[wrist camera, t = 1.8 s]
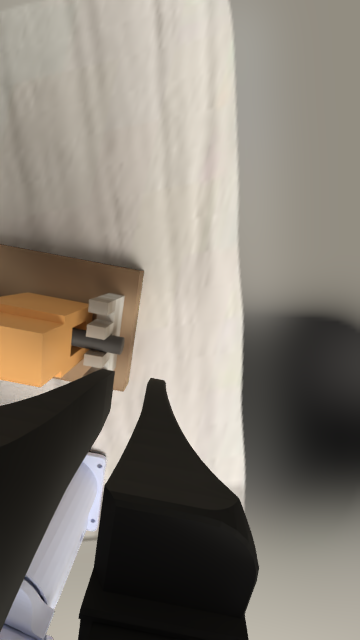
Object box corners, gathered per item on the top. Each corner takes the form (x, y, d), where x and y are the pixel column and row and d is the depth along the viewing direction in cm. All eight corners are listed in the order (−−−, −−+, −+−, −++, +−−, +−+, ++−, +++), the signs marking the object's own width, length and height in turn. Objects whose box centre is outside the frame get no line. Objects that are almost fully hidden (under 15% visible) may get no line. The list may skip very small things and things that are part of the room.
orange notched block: (88, 354, 18) (40, 395, 12) (26, 342, 18) (-52, 378, 12) (93, 304, 17) (43, 324, 11) (28, 292, 17) (-56, 305, 11)
